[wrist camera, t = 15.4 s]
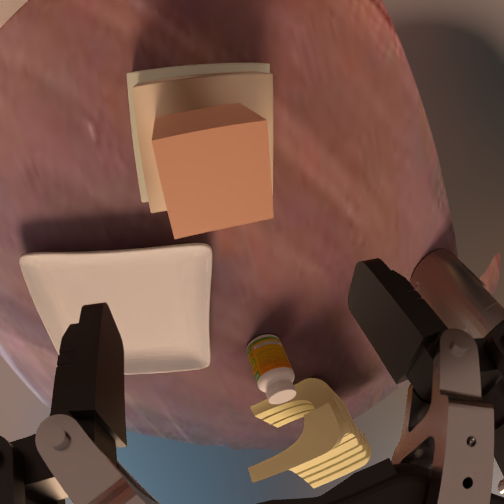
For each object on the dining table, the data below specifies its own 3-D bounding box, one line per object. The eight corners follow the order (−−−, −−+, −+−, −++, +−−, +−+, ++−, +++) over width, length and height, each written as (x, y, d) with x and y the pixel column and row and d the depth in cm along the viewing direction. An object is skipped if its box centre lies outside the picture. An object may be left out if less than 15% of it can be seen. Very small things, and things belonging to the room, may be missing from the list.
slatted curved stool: (346, 400, 70) (376, 459, 56) (290, 428, 72) (313, 488, 58) (305, 353, 52) (347, 442, 38) (227, 393, 54) (252, 482, 40)
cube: (239, 102, 19) (267, 120, 14) (247, 178, 22) (273, 218, 18) (154, 117, 18) (151, 140, 14) (170, 193, 22) (174, 239, 17)
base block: (254, 62, 26) (269, 63, 22) (253, 170, 32) (266, 187, 28) (132, 71, 23) (126, 73, 20) (144, 182, 30) (141, 202, 26)
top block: (254, 70, 22) (272, 74, 18) (256, 173, 27) (272, 195, 24) (137, 82, 20) (131, 87, 17) (152, 188, 26) (150, 213, 22)
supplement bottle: (241, 340, 46) (259, 396, 38) (276, 328, 46) (299, 381, 38) (250, 359, 49) (267, 411, 41) (282, 348, 49) (303, 398, 42)
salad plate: (71, 360, 40) (69, 378, 38) (24, 239, 29) (14, 257, 26) (207, 351, 46) (211, 370, 43) (208, 225, 34) (213, 243, 31)
